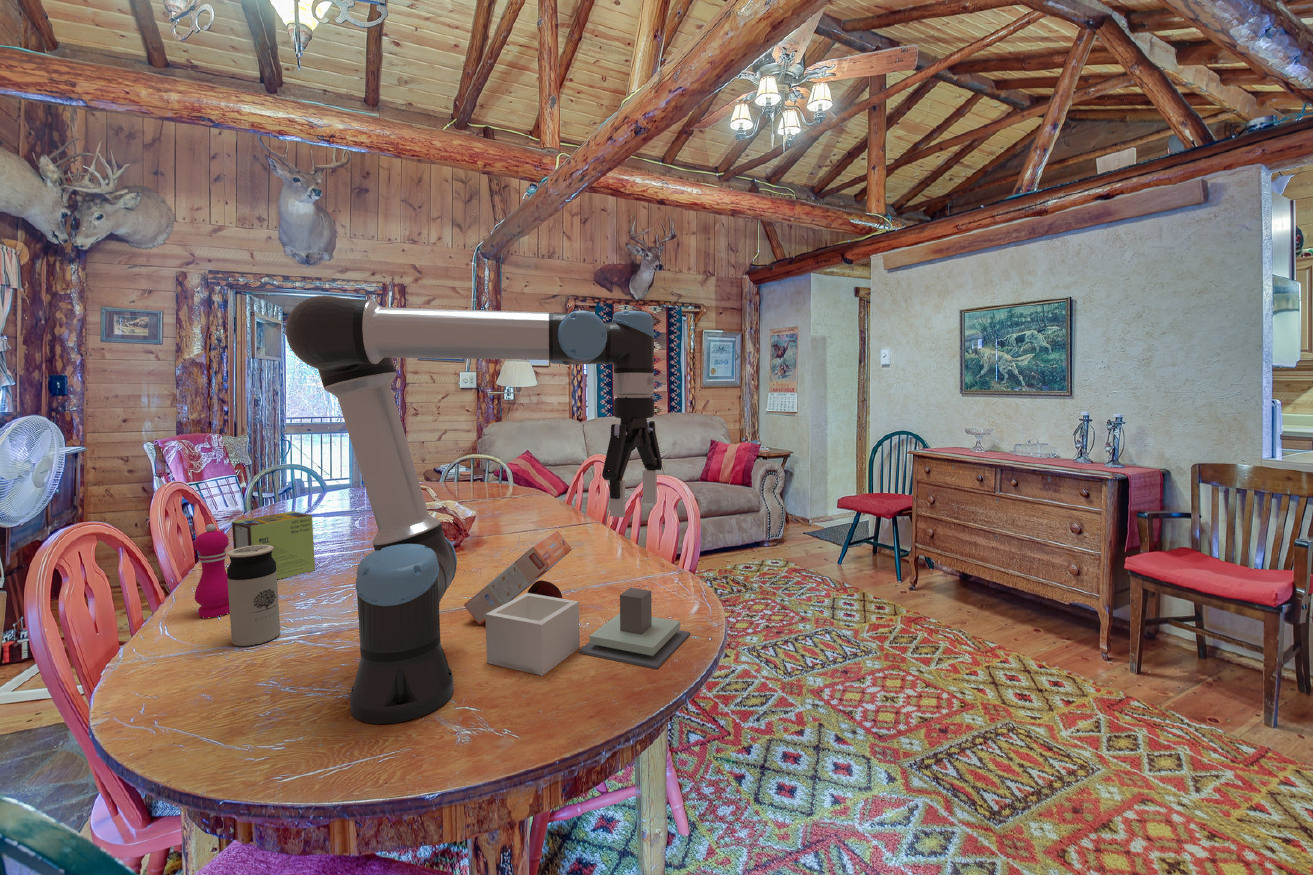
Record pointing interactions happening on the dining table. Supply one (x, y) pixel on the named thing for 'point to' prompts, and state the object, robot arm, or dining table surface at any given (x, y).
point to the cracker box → (518, 576)
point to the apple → (545, 589)
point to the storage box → (532, 633)
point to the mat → (635, 657)
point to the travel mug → (253, 595)
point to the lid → (635, 626)
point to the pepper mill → (212, 573)
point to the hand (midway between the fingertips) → (634, 509)
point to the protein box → (280, 540)
